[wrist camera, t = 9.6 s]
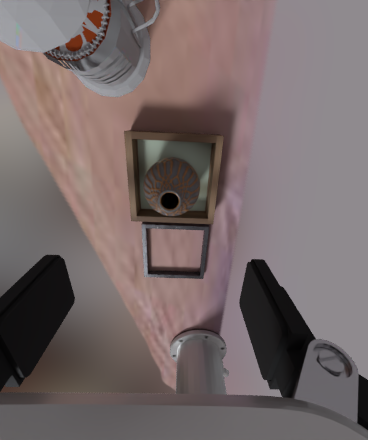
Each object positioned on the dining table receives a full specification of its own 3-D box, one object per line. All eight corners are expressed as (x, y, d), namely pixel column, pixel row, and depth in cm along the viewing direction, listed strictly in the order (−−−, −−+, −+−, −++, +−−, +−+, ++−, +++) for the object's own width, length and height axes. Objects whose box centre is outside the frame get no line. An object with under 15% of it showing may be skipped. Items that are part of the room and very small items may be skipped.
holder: (210, 215, 31) (213, 224, 28) (135, 212, 31) (131, 221, 28) (219, 134, 26) (223, 136, 23) (130, 130, 26) (124, 131, 23)
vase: (173, 142, 26) (169, 150, 18) (208, 180, 28) (218, 202, 20) (138, 178, 28) (120, 200, 20) (173, 211, 30) (170, 242, 22)
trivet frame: (202, 274, 36) (203, 278, 35) (145, 273, 36) (144, 276, 35) (208, 224, 32) (209, 226, 31) (142, 221, 31) (141, 224, 31)
